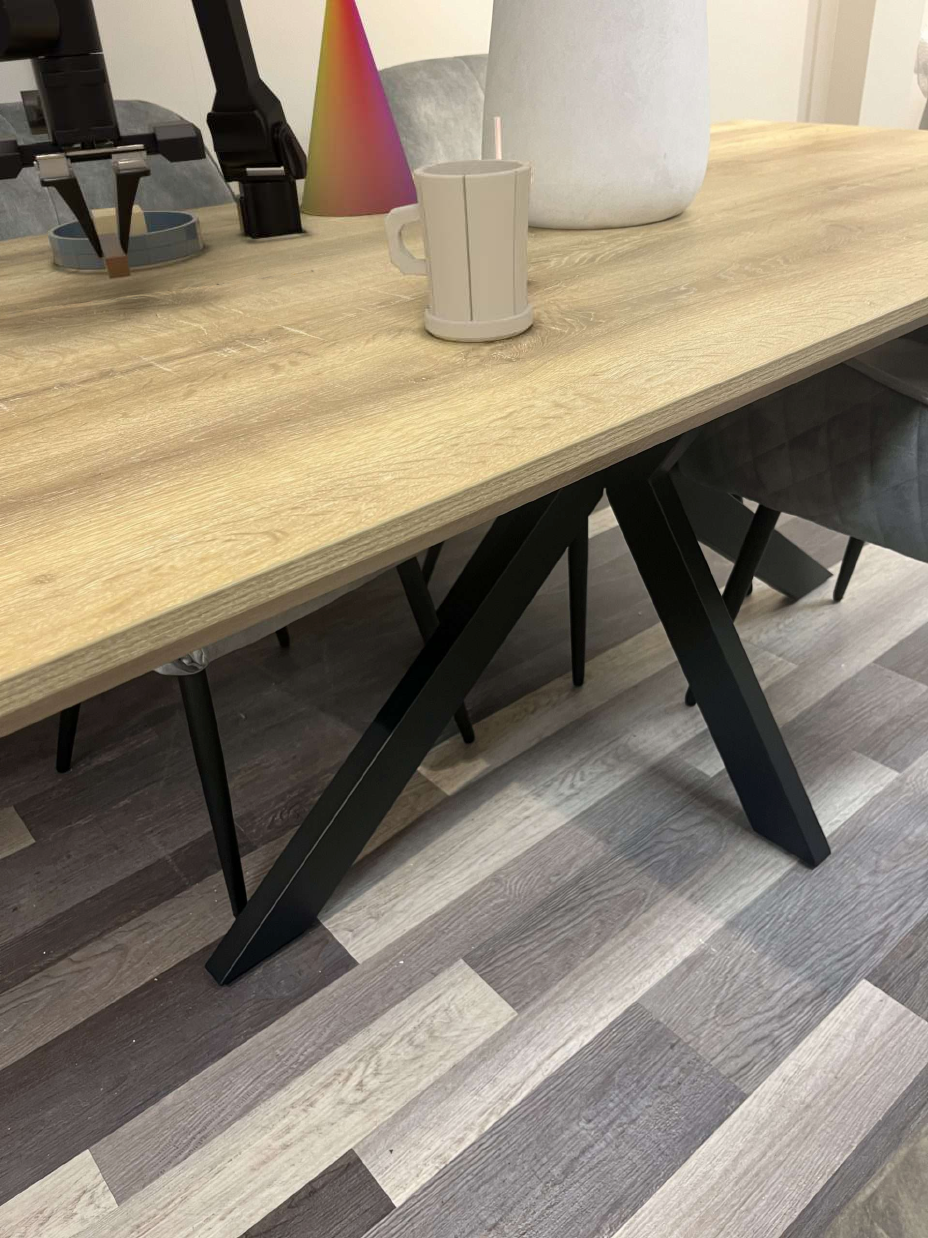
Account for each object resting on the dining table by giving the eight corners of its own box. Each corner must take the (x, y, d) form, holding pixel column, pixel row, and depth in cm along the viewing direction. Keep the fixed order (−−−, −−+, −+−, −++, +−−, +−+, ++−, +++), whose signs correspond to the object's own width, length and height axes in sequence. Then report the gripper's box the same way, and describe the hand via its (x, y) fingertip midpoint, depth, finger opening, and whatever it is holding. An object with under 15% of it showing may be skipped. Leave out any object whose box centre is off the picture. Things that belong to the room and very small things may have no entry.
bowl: (192, 236, 121) (186, 205, 119) (214, 260, 108) (208, 226, 106) (53, 253, 116) (45, 221, 114) (59, 280, 103) (50, 245, 102)
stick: (131, 275, 86) (126, 254, 85) (109, 279, 86) (104, 257, 85) (120, 251, 93) (115, 231, 92) (100, 254, 93) (95, 234, 92)
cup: (436, 354, 75) (424, 182, 68) (387, 327, 82) (373, 169, 75) (554, 330, 79) (553, 165, 72) (498, 306, 86) (493, 154, 79)
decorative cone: (276, 209, 134) (238, -59, 118) (361, 190, 144) (337, -59, 128) (359, 219, 125) (330, -71, 109) (444, 198, 135) (428, -70, 119)
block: (148, 251, 111) (138, 204, 109) (153, 260, 108) (143, 210, 105) (102, 257, 110) (90, 209, 107) (105, 266, 106) (94, 216, 103)
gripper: (170, 46, 90) (202, 228, 98) (-52, 61, 84) (2, 252, 93) (188, 48, 81) (222, 248, 89) (-59, 65, 75) (2, 276, 84)
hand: (113, 255), depth 89 cm, fingers closed on stick, 2 cm apart
